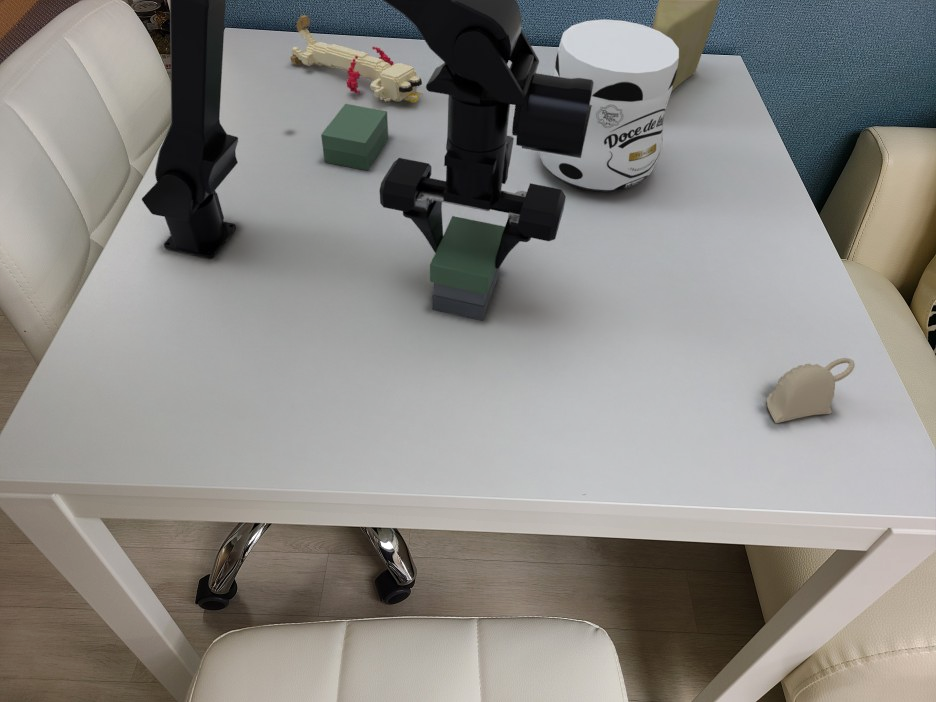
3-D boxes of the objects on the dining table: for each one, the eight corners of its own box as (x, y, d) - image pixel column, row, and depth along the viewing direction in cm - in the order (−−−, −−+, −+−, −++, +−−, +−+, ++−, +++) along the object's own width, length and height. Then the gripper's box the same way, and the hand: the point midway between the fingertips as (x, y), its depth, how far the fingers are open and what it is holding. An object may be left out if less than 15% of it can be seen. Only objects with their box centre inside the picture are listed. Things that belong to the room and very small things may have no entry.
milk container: (642, 215, 91) (680, 89, 78) (520, 186, 94) (536, 60, 81) (660, 150, 102) (696, 30, 89) (550, 126, 106) (569, 6, 92)
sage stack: (367, 170, 95) (365, 143, 92) (324, 162, 96) (320, 134, 93) (388, 138, 101) (387, 111, 98) (347, 130, 102) (345, 103, 98)
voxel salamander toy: (284, 77, 114) (400, 114, 104) (273, 23, 108) (394, 57, 98) (324, 57, 120) (438, 90, 109) (315, 4, 113) (435, 34, 103)
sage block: (486, 294, 73) (488, 277, 71) (429, 282, 74) (429, 264, 72) (504, 244, 79) (506, 226, 77) (451, 233, 80) (452, 215, 78)
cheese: (665, 130, 106) (693, 34, 95) (606, 113, 109) (628, 18, 98) (697, 73, 120) (725, -17, 109) (644, 60, 122) (666, -29, 111)
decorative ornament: (754, 393, 72) (774, 360, 68) (824, 383, 73) (847, 350, 69) (773, 423, 69) (794, 391, 65) (845, 412, 70) (870, 380, 66)
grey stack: (482, 320, 77) (485, 292, 73) (432, 309, 77) (432, 281, 74) (499, 272, 82) (502, 245, 79) (452, 262, 83) (453, 234, 80)
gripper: (584, 112, 68) (561, 233, 80) (410, 81, 71) (412, 203, 83) (567, 171, 61) (544, 295, 73) (374, 135, 64) (381, 260, 75)
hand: (468, 259), depth 76 cm, fingers closed on sage block, 6 cm apart
